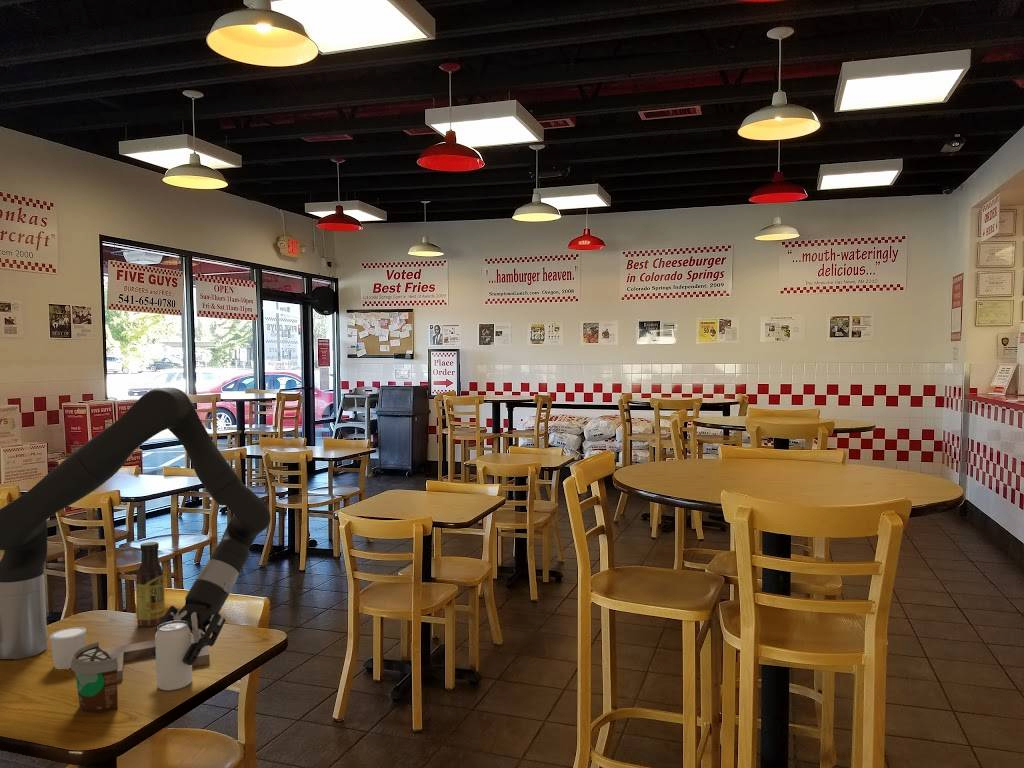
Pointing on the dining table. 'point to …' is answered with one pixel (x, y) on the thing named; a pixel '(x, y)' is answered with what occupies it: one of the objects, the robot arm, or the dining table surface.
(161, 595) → the sauce bottle
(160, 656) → the can
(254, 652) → the dining table surface
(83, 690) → the food container
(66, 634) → the white short cylinder
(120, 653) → the notched board
